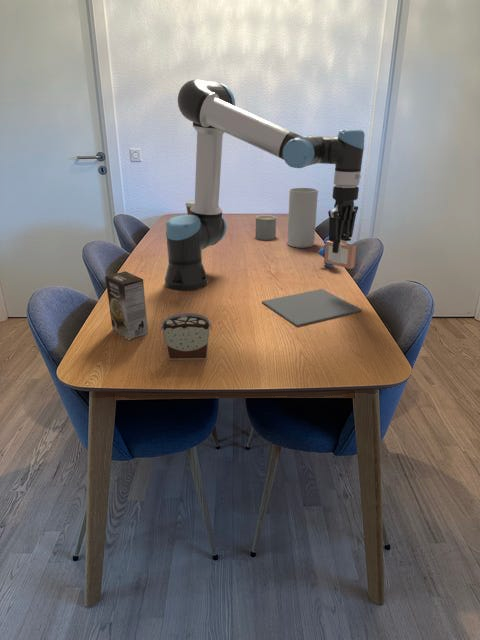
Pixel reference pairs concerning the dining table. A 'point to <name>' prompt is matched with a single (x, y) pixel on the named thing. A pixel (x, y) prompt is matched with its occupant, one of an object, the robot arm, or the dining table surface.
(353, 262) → the pink picture frame
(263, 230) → the coffee mug
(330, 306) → the mat
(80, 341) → the dining table surface
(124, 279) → the coffee box
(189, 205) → the disposable coffee cup
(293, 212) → the cylinder vase
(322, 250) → the blue lumpy piece
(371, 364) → the dining table surface
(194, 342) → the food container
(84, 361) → the dining table surface
